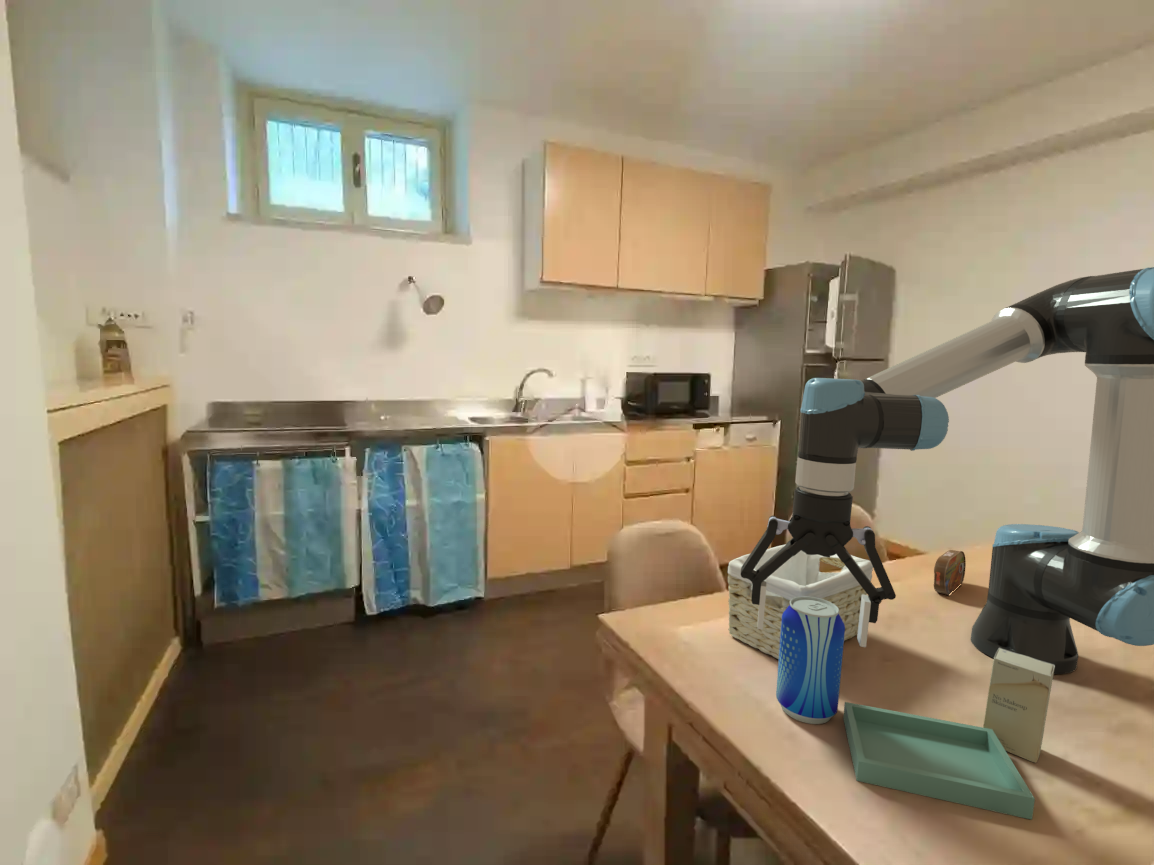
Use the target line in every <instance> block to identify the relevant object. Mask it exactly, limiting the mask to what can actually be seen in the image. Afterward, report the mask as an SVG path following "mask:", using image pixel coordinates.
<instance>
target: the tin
mask: <svg viewBox="0 0 1154 865" xmlns="http://www.w3.org/2000/svg"><path fill="white" fill-rule="evenodd" d="M966 562H967V561H966V554H965V552H964V551H962V550H960V551H959V550H953V549H949V550H947V551H946V552H945V553H943V554H942V555H940V556H939V557H938V558H937V559H936V561H935V564H934V568H933V574H934V576H933V588H934V591H935V592H936V593H938V594H943V595H947V596H948V595H949V594H950V593H951V592H952V591H954V590H955V589H956V588H957V587H958V586H959V585H960V584H962V585H963V583H964V580H965V574H966V568H967V567H966V564H967V563H966Z"/></svg>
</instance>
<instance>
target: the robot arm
mask: <svg viewBox="0 0 1154 865" xmlns="http://www.w3.org/2000/svg"><path fill="white" fill-rule="evenodd" d="M1066 353H1068V354H1069V353H1085V356H1084V366H1085V367H1086V368H1087V369H1088V370H1089V371H1090V372H1091V373H1093V374H1094V375H1095V377H1096V384H1095V393H1094V394H1095V396H1094V407H1093V414H1092V415H1093V416H1092V425H1091V437H1090V447H1089V448H1090V449H1089V455H1088V456H1089V457H1088V458H1089V459H1088V467H1087V468H1088V469H1087V477H1086V478H1087V480H1086V487H1085V488H1086V489H1085V499H1084V500H1085V501H1084V510H1083V519H1082V520H1083V521H1082V529H1081V532H1079V531H1078V530H1075V529H1070V528H1066V527H1059V526H1053V525H1041V524H1025V523H1024V524H1023V523H1011V524H1003V525H1001V526H1000V527H999V528H997V530H996V531H995V532H996V533H995V537H994V543H993V544H992V549H991V550H992V551H991V560H990V561H991V562H990V570H989V580H988V591H987V598H986V603H985V604H984V606H983V607H982V610H981V611H980V613H978V616H977V618H976V619H975V622H974V623H973V625H972V627H971V633H970V642H971V643H972V645H973V646H974V647H975V648H976V649H977V650H978V651H980V652H981V653H983V654H984V655H986V656H988V657H991V658H992V659H994V656H995V654H996V652H997V650H998V649H999V648H1002V649H1005V650H1008V651H1011V652H1014V653H1018V654H1021V655H1025V656H1028V657H1031V658H1034V659H1037V660H1040V661H1044V662H1047V663H1050V664H1053V665H1055V668H1054V674H1053V675H1063V674H1069V673H1072V672H1074V671H1076V670H1077V668H1078V662H1079V661H1078V660H1079V651H1078V648H1077V647H1078V646H1077V645H1076V644H1077V643H1076V640H1075V637H1074V633H1073V629H1072V625H1071V621H1070V620H1074V621H1076V622H1077V623H1080V624H1082V625H1084V626H1086V627H1088V628H1090V629H1093V630H1095V631H1097V632H1098V633H1099V634H1101V635H1102V636H1105V637H1108V638H1113V639H1115V640H1118V641H1120V642H1122V643H1125V644H1128V645H1130V646H1137V647H1148V646H1154V267H1153V266H1151V267H1145V268H1139V269H1133V270H1126V271H1119V272H1115V273H1114V272H1113V273H1106V274H1099V275H1090V276H1089V275H1088V276H1084V277H1078V278H1074V279H1070V280H1066V281H1065V282H1061V283H1059V284H1056V285H1053V286H1051V287H1049V288H1046V289H1044V290H1042V291H1040V292H1038V293H1035V294H1033V295H1031V296H1028V297H1025V299H1022V300H1020V301H1018V302H1015V303H1013V304H1011V305H1009V306H1007V307H1004V308H1002V309H1001V310H999V311H997V312H996V313H995V314H994V315H993V317H992V319H991V320H990V321H989V322H987V323H984V324H983V325H980V326H978V327H976V328H974V329H972V330H969V331H967V332H965V333H963V334H961V335H959V336H956V337H954V338H952V339H949V340H948V341H945V342H943V343H941V344H939V345H936V346H934V347H931V348H930V349H928V350H926V351H923V352H921V353H919V354H917V355H914V356H912V357H910V358H908V359H905V360H904V361H902V362H899V363H896V364H895V365H892V366H891V367H888V368H886V369H884V370H882V371H879V372H877V373H874V374H873V375H871V376H869V377H867V378H865V379H864V378H863V379H862V380H860V379H852V378H851V379H849V378H829V377H827V378H826V377H812V378H811V379H808V381H807V382H806V383H805V386H804V390H803V395H802V402H801V407H800V424H799V425H800V427H799V438H798V439H799V440H798V452H797V458H796V459H797V461H796V469H795V470H796V471H795V481H794V482H795V484H796V486H798V487H796V488H795V489H794V493H793V504H792V514H791V517H790V519H789V520H784V519H780V518H778V517H777V516H775V515H771V516H769V518H768V522H767V525H766V526H767V527H766V530H765V531H764V533H763V534H762V536H761V538H759V540H758V542H757V544H756V545H755V547H754V548H753V549H752V551H751V552H750V553H749V554H750V555H749V557H748V558H747V560H746V561H745V563H744V564H743V566H742V567H741V577H742V578H747V579H749V580H750V581H751V582H752V584H753V585H752V598H751V601H752V604H756V605H759V611H758V626H757V629H761V630H763V622H764V610H765V598H766V580H765V579H767V578H768V577H769V576H770V575H771V574H772V573H774V572H775V571H776V570H777V569H778V568H779V567H781V566H782V565H783V564H784V563H785V562H786V561H788V560H789V559H790V558H791V557H792V556H795V555H796V554H797V553H798V552H800V551H801V550H802V551H803V552H804V553H806V554H808V555H817V554H818V555H821V556H824V557H830V556H833V555H835V554H837V556H838V557H839V558H840V560H841V561H842V562H843V563H844V564H845V566H846V567H847V568H848V569H849V571H850V572H851V573H852V575H853V576H854V577H855V579H856V580H857V581H858V583H859V584H860V585H861V587H862V588H863V589H864V591H865V592H866V593H867V595H864V594H862V597H861V607H860V616H859V625H858V634H857V635H856V636H857V637H856V638H857V642H858V644H859V647H862V648H867V641H868V633H869V624H876V623H877V622H878V618H879V610H880V604H881V603H882V602H883V600H890V601H891V600H892V601H893V600H895V599H896V596H897V594H896V592H895V590H894V588H893V585H892V583H891V581H890V578H889V576H888V574H887V572H886V569H885V567H884V564H883V562H882V559H881V558H880V555H879V553H878V550H877V549H876V548H877V547H876V534H875V532H874V530H873V529H872V527H871V526H868V525H867V526H864V527H863V528H857V527H856V528H852V527H851V526H852V525H851V517H852V509H853V507H852V506H853V499H854V496H853V495H852V493H850V492H852V491H853V490H854V489H855V478H856V467H857V459H858V454H859V453H858V451H859V449H890V450H909V451H912V452H914V451H915V450H930V449H934V448H936V447H937V446H939V445H940V444H941V443H942V442H943V441H944V440H945V438H946V437H947V434H948V430H949V423H950V416H949V413H948V410H947V408H946V406H945V404H944V403H943V402H942V401H941V400H939V399H938V397H941V396H942V395H945V394H947V393H949V392H952V391H954V390H956V389H958V388H961V387H962V386H965V385H967V384H969V383H971V382H973V381H975V380H978V379H980V378H982V377H984V376H987V375H989V374H992V373H994V372H996V371H999V370H1000V369H1002V368H1005V367H1007V366H1009V365H1011V364H1013V363H1021V364H1025V363H1026V364H1027V363H1031V362H1033V361H1036V360H1037V359H1040V358H1042V357H1046V356H1050V355H1057V354H1066ZM784 530H788V532H789V534H790V536H791V537H792V538H791V539H789V540H788V541H787V542H786V545H785V544H784V545H785V546H784V547H783V548H782V549H780V550H779V551H778V552H777V553H776V554H775V555H774V556H772V557H771V558H770V559H769V560H768V561H767V562H765V563H764V564H763V565H762V566H761V567H760V568H759V569H757V570H756V571H755V570H753V569H754V568H755V566H756V565H757V564H758V562H759V561H760V559H761V558H762V556H763V555H764V553H765V552H766V550H767V549H769V548H770V546H771V544H772V543H773V541H774V539H775V538H776V535H781V534H782V533H783V531H784ZM853 538H854V539H856V540H857V542H858V544H860V545H862V546H863V547H864V550H865V552H866V554H867V557H868V560H869V561H870V562H871V564H872V566H873V570H874V572H875V574H876V578H877V580H878V582H879V585H880V586H879V587H876V586H875V585H874V584H873V582H872V580H871V581H870V580H869V579H868V577H867V576H866V575H865V573H864V572H863V571H862V570H861V568H860V567H859V566H858V564H857V563H856V562H855V560H854V559H853V558H852V556H853V555H852V554H850V553H849V551H848V549H847V548H846V545H847V544H848V543H849V542H850V541H851V540H852V539H853ZM851 555H852V556H851Z"/></svg>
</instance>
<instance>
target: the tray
mask: <svg viewBox="0 0 1154 865" xmlns="http://www.w3.org/2000/svg"><path fill="white" fill-rule="evenodd" d="M843 707H844V708H843V717H842V718H843V723H844V727H845V728H844V729H845V732H846V738H847V741H848V746H849V752H850V756H851V760H852V764H853V770H854V774H855V779H856V782H861V783H865V784H870V785H875V786H879V787H883V788H888V789H893V790H896V791H902V792H906V793H910V794H915V795H919V796H924V797H929V798H933V799H936V800H937V799H938V800H942V801H946V802H951V803H954V804H955V803H956V804H959V805H965V806H969V807H972V808H973V807H974V808H979V809H983V810H987V811H991V812H995V813H1000V814H1005V815H1010V816H1014V817H1019V818H1022V819H1027V820H1031V821H1032V820H1033V816H1034V815H1033V814H1034V808H1035V800H1036V798H1035V797H1034V795H1033V793H1032V792H1031V790H1030V788H1029V787H1028V785H1027V783H1026V782H1025V780H1024V778H1023V777H1022V776H1021V774H1020V772H1019V771H1018V768H1016V766H1015V764H1014V762H1013V760H1012V759H1011V757H1010V756H1009V754H1008V752H1007V751H1005V749H1004V748H1003V746H1002V744H1001V743H1000V741H999V740H998V738H997V736H996V735H995V733H994V731H993V730H992V729H988V728H983V726H977V725H971V724H966V723H961V722H955V721H950V720H946V719H945V720H943V719H938V718H934V717H928V716H923V715H920V714H913V713H907V712H902V711H897V710H896V711H895V710H891V709H885V708H880V707H875V706H870V705H865V704H864V705H863V704H858V703H852V702H848V701H844V706H843Z"/></svg>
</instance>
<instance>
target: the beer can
mask: <svg viewBox="0 0 1154 865" xmlns="http://www.w3.org/2000/svg"><path fill="white" fill-rule="evenodd" d="M844 634H845V625H844V623H843V621H842V619H841V617H840V615H839V608H838V607H837V606H836V605H835V604H833V603H831V602H829V601H826V600H824V599H820V598H815V597H807V596H802V597H795V598H793V599H791V600H790V605H789V606H788V607H787V609H786V610H785V611H784V612H783V614H782V622H781V635H780V649H779V659H778V663H777V665H778V666H777V677H776V678H777V679H776V680H777V681H776V688H775V689H776V690H775V692H776V693H775V696H776V701H777V702H778V704H779V705H780V707H781V709H782V711H783V712H784V713H785V714H786V715H788V716H789V717H790V718H792V719H794V720H796V721H798V722H802V723H806V724H810V725H821V724H825V723H827V722H829V721H830V720H831V718H832V717H834V716H836V714H837V713H838V710H839V701H840V700H839V699H840V688H841V677H842V676H841V675H842V667H843V666H842V665H843V656H844V655H843V653H844V643H845V641H844Z"/></svg>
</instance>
